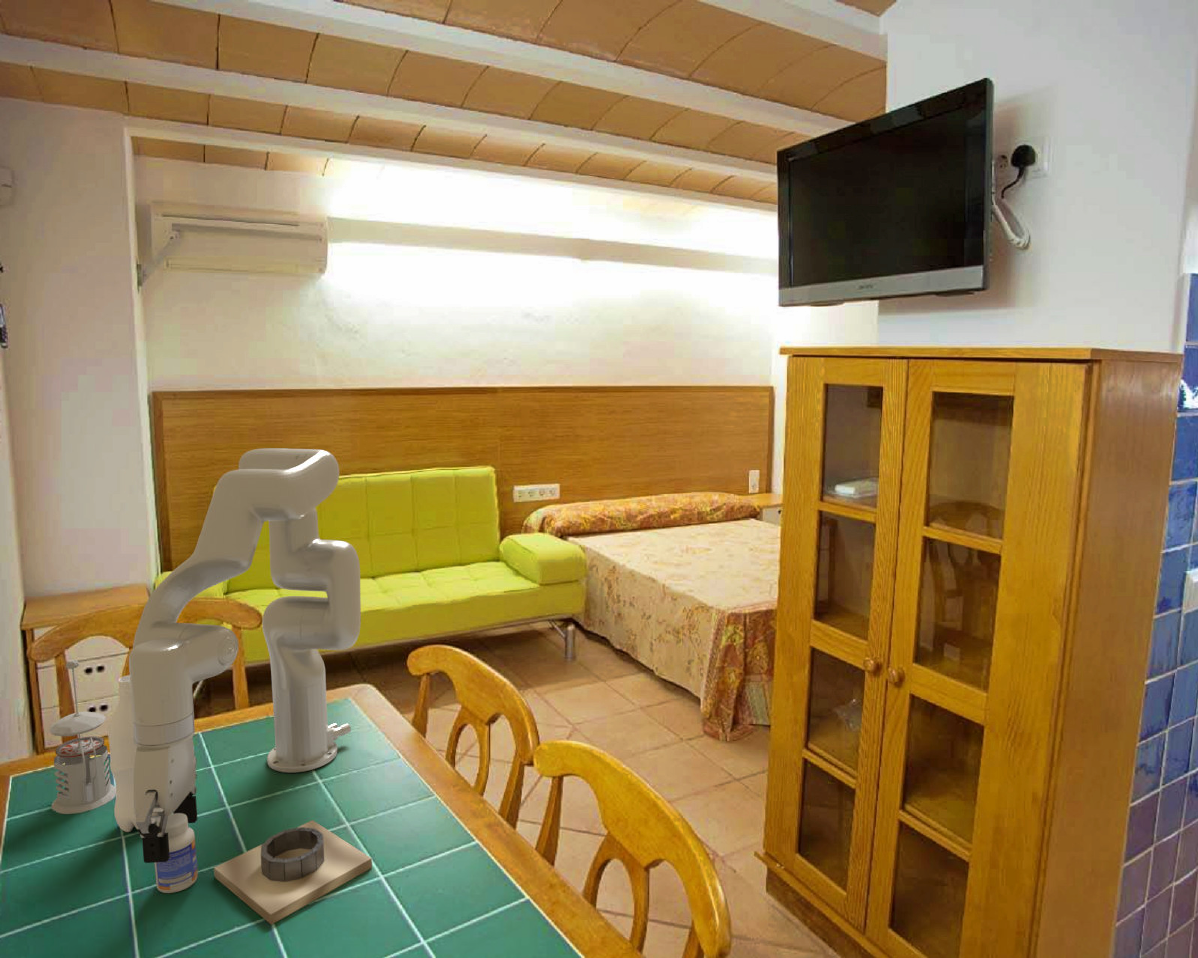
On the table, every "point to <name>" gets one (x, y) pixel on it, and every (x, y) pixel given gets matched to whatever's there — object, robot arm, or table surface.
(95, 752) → the french press
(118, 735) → the water bottle
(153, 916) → the table surface
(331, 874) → the stand plate
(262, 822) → the table surface
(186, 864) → the pill bottle
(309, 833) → the collar
